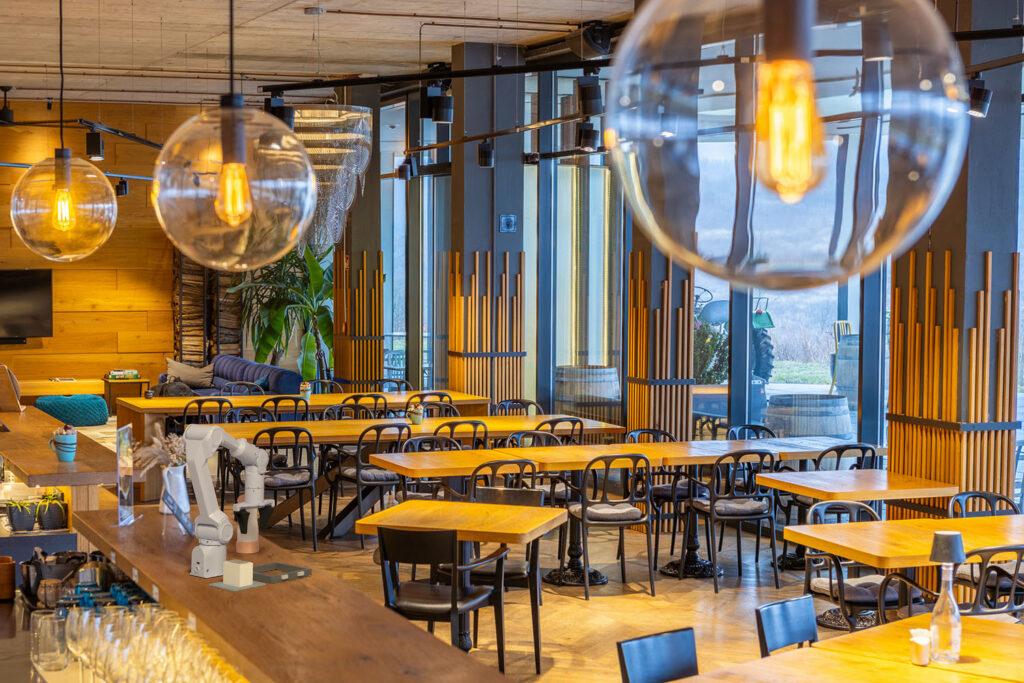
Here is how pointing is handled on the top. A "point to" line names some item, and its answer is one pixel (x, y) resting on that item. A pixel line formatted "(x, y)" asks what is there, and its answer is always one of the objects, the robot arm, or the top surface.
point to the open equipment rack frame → (292, 574)
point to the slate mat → (235, 588)
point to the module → (237, 573)
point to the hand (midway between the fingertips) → (253, 532)
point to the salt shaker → (248, 532)
